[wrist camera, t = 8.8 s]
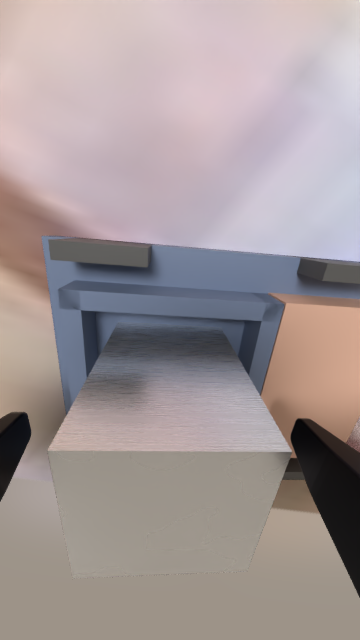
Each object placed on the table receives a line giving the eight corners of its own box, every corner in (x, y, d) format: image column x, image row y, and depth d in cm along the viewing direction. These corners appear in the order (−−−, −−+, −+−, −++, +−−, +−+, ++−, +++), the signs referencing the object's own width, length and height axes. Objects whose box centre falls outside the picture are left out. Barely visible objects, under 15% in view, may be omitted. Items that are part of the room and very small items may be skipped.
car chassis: (77, 434, 13) (57, 480, 10) (54, 235, 9) (12, 236, 6) (302, 437, 14) (330, 479, 12) (370, 263, 10) (434, 272, 8)
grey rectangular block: (120, 404, 11) (72, 578, 5) (118, 321, 9) (46, 450, 4) (207, 406, 11) (247, 571, 6) (220, 327, 10) (291, 451, 4)
